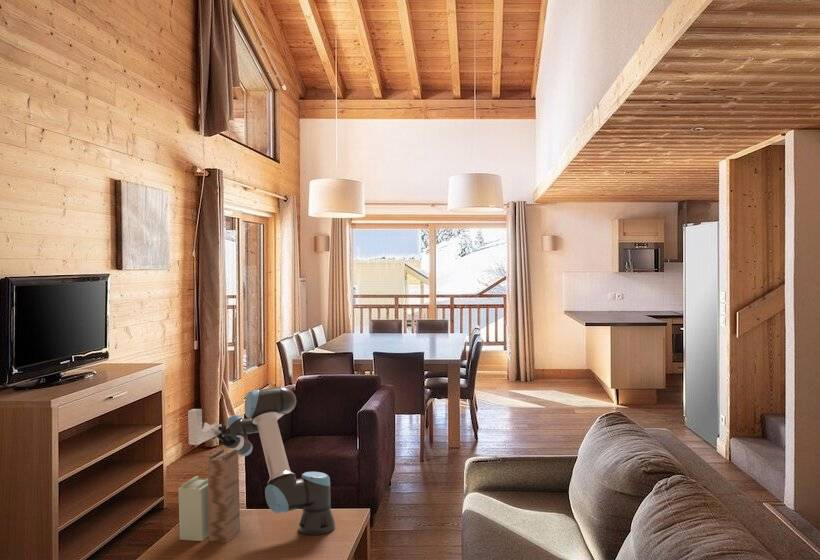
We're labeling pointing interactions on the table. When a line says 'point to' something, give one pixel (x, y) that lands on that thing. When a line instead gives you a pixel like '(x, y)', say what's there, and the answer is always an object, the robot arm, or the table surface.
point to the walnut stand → (223, 496)
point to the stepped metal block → (199, 428)
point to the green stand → (194, 510)
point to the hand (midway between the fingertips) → (209, 425)
